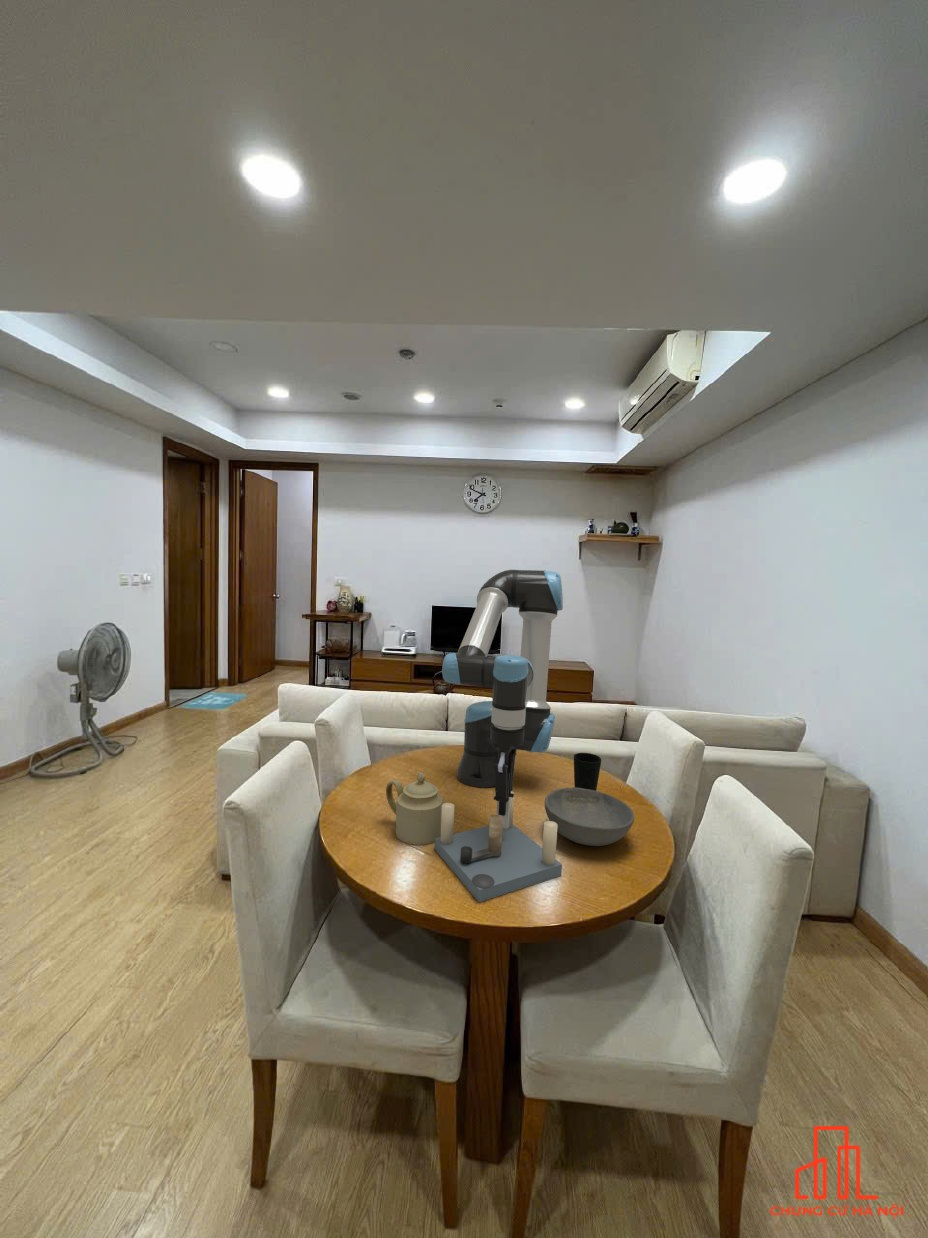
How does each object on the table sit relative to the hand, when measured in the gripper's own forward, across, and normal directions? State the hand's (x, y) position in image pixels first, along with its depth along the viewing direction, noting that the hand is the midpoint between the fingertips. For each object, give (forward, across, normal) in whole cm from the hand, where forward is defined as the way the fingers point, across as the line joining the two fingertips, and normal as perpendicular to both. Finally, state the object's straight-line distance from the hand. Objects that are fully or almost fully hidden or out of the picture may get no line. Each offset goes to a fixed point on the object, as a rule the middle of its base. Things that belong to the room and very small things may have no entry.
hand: (502, 826), depth 112 cm
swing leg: (+2, +10, -2) cm, 10 cm away
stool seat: (+5, +6, 0) cm, 8 cm away
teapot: (+5, +1, -22) cm, 23 cm away
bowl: (+5, -12, +18) cm, 23 cm away
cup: (+5, -34, +17) cm, 38 cm away
